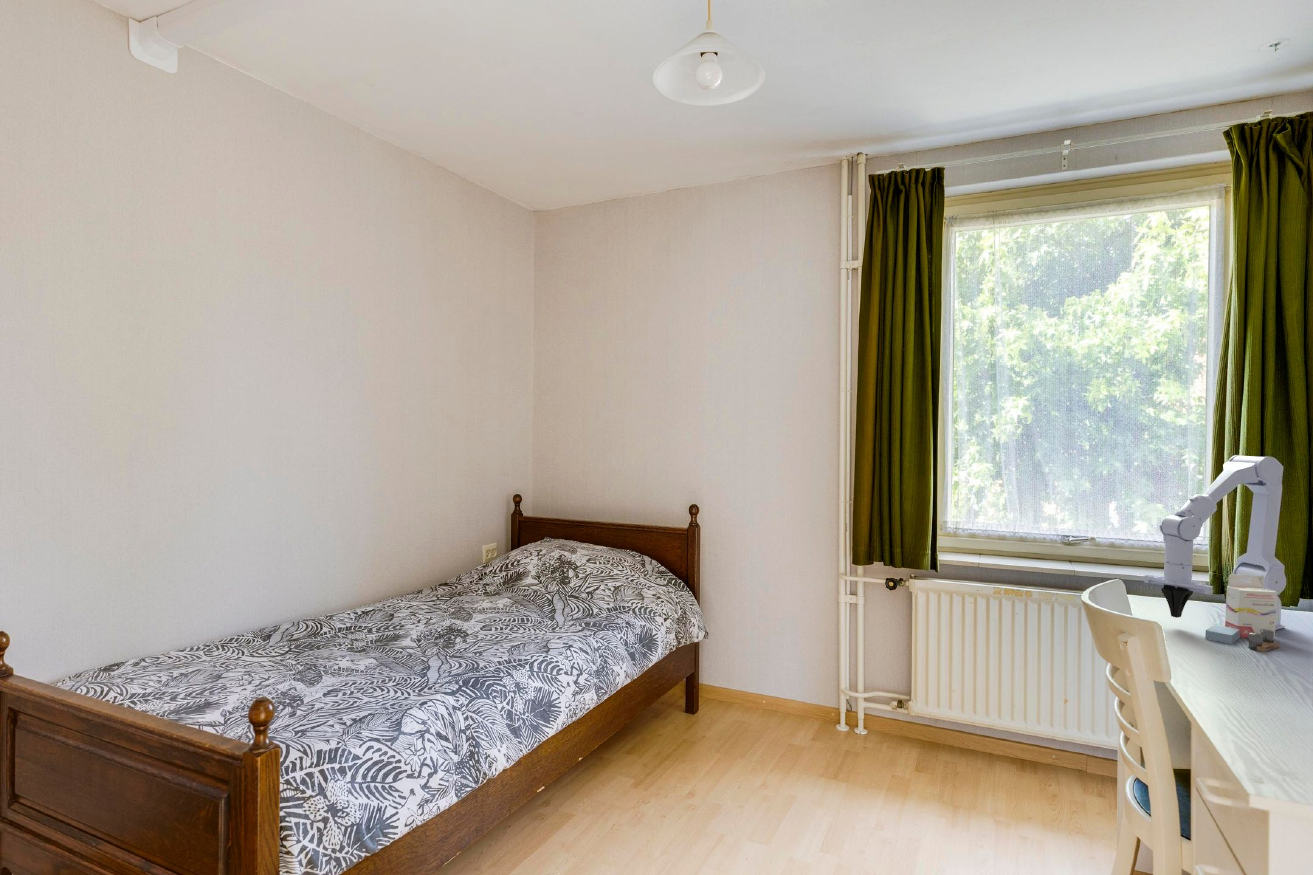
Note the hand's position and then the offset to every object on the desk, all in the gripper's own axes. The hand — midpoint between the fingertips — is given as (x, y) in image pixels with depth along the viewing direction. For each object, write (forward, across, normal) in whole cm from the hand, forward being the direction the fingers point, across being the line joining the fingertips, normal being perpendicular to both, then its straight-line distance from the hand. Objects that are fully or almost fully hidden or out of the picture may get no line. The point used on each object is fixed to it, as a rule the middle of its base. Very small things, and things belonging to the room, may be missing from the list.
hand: (1176, 616), depth 180 cm
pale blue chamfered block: (+3, +10, 0) cm, 10 cm away
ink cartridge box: (+3, +12, +9) cm, 15 cm away
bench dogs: (+3, +18, 0) cm, 18 cm away
